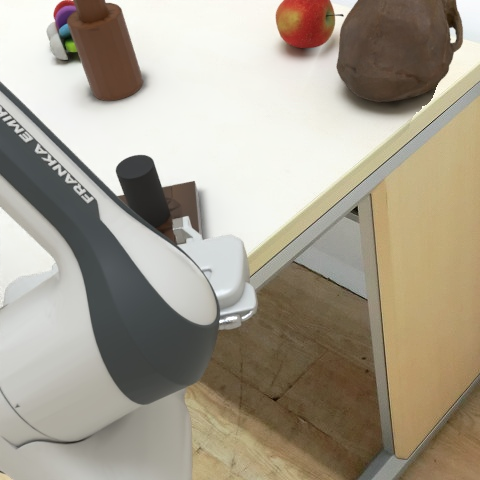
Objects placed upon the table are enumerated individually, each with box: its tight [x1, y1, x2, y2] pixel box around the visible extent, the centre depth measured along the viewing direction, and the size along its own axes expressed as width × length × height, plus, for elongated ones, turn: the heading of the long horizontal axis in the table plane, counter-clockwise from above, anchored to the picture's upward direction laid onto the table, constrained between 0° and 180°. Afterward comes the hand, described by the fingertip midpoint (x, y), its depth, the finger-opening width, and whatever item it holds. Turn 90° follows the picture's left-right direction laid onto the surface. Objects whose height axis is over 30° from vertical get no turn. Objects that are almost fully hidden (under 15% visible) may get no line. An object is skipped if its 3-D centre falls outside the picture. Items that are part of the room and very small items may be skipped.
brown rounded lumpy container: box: [336, 0, 464, 103], centre depth 101 cm, size 19×20×13 cm
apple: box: [275, 0, 344, 49], centre depth 110 cm, size 8×8×10 cm
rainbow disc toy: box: [46, 0, 78, 61], centre depth 118 cm, size 8×10×7 cm
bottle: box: [67, 0, 144, 102], centre depth 105 cm, size 7×7×15 cm
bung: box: [115, 154, 170, 228], centre depth 83 cm, size 4×4×9 cm
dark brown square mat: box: [117, 180, 203, 245], centre depth 86 cm, size 10×10×2 cm
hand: (131, 233), depth 70 cm, fingers open, 8 cm apart
